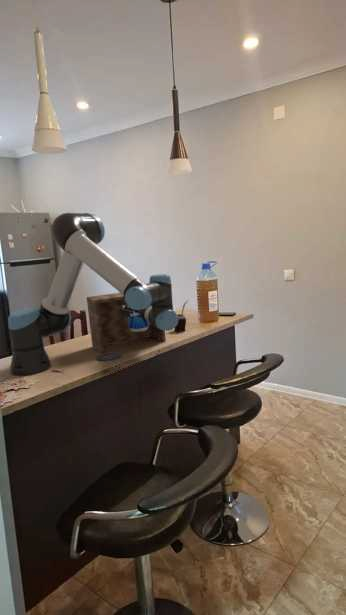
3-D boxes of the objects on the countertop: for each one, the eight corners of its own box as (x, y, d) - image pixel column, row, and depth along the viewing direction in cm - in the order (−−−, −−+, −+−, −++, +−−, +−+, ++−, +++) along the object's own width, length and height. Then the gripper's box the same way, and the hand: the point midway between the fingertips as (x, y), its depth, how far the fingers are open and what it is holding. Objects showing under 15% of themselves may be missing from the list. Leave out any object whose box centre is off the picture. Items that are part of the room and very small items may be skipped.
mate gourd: (170, 332, 206) (167, 302, 204) (178, 328, 213) (175, 300, 211) (183, 332, 203) (180, 302, 200) (190, 329, 209) (188, 300, 207)
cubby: (100, 353, 176) (94, 300, 173) (92, 346, 190) (86, 297, 186) (165, 341, 188) (161, 291, 185) (153, 335, 202) (148, 288, 198)
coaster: (99, 362, 163) (99, 361, 163) (93, 357, 172) (93, 355, 172) (123, 357, 167) (123, 356, 167) (116, 352, 176) (116, 351, 176)
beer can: (129, 328, 177) (125, 291, 175) (148, 326, 178) (145, 290, 175) (129, 332, 169) (125, 294, 166) (149, 331, 170) (146, 292, 167)
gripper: (127, 328, 152) (110, 319, 173) (179, 320, 161) (157, 312, 181) (125, 308, 151) (108, 301, 171) (177, 301, 159) (155, 295, 180)
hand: (133, 307), depth 176 cm, fingers closed on beer can, 8 cm apart
